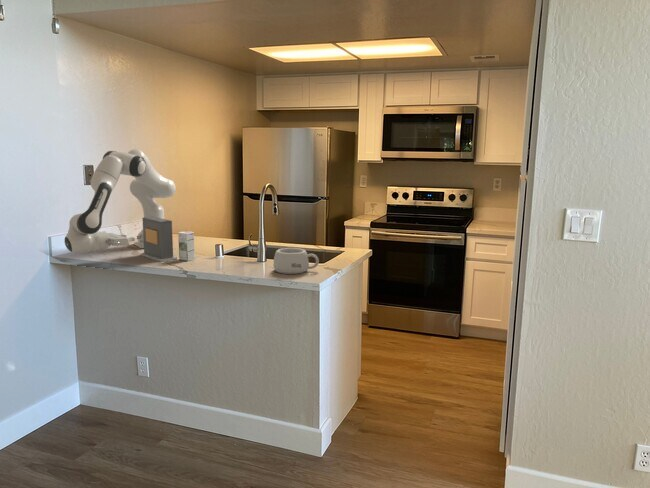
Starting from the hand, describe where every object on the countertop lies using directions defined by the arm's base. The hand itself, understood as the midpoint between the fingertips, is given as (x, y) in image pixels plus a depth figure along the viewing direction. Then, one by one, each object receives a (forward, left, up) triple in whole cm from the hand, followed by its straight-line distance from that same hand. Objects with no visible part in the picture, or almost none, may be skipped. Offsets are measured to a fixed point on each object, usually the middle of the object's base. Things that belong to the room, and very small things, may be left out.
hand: (129, 237), depth 262 cm
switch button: (0, +13, -4) cm, 13 cm away
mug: (+70, +49, -12) cm, 86 cm away
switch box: (0, +15, -12) cm, 19 cm away
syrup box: (+15, +23, -12) cm, 30 cm away
